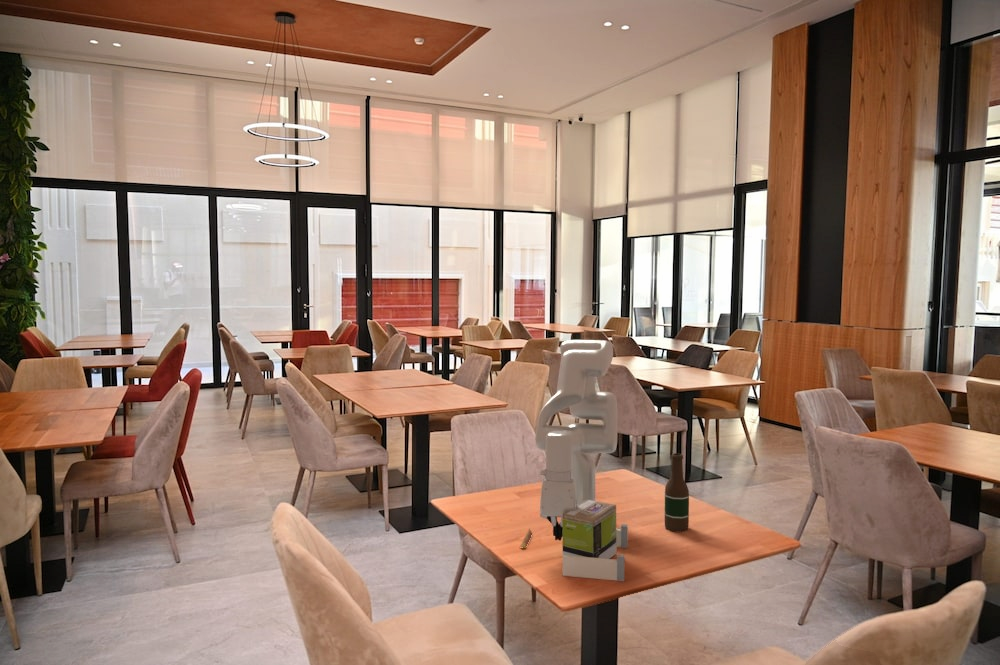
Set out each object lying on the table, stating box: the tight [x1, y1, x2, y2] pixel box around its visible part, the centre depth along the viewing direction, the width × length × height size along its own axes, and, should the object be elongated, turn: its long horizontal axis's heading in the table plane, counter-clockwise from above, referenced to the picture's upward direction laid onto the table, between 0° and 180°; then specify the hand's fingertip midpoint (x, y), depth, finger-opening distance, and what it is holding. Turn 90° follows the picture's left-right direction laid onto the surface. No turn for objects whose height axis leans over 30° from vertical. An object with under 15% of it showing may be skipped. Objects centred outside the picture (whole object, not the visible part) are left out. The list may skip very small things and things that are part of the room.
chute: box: [562, 523, 629, 582], centre depth 189 cm, size 25×16×6 cm, turn 167°
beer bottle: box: [664, 453, 690, 533], centre depth 214 cm, size 8×8×24 cm
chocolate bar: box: [519, 528, 533, 549], centre depth 204 cm, size 3×12×2 cm, turn 168°
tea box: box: [562, 499, 617, 559], centre depth 189 cm, size 15×10×15 cm, turn 145°
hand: (558, 538), depth 191 cm, fingers closed
